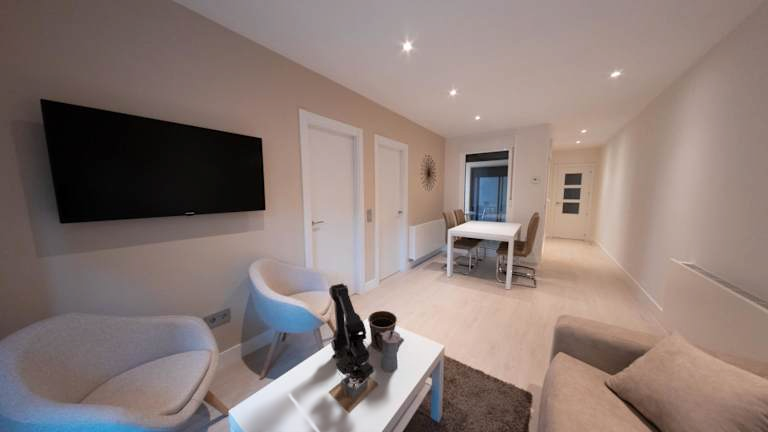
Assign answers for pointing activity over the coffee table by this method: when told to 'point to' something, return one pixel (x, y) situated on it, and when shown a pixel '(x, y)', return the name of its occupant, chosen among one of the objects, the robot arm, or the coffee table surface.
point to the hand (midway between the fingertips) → (354, 378)
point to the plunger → (353, 381)
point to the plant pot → (381, 326)
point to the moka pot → (389, 349)
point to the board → (346, 400)
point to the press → (349, 391)
